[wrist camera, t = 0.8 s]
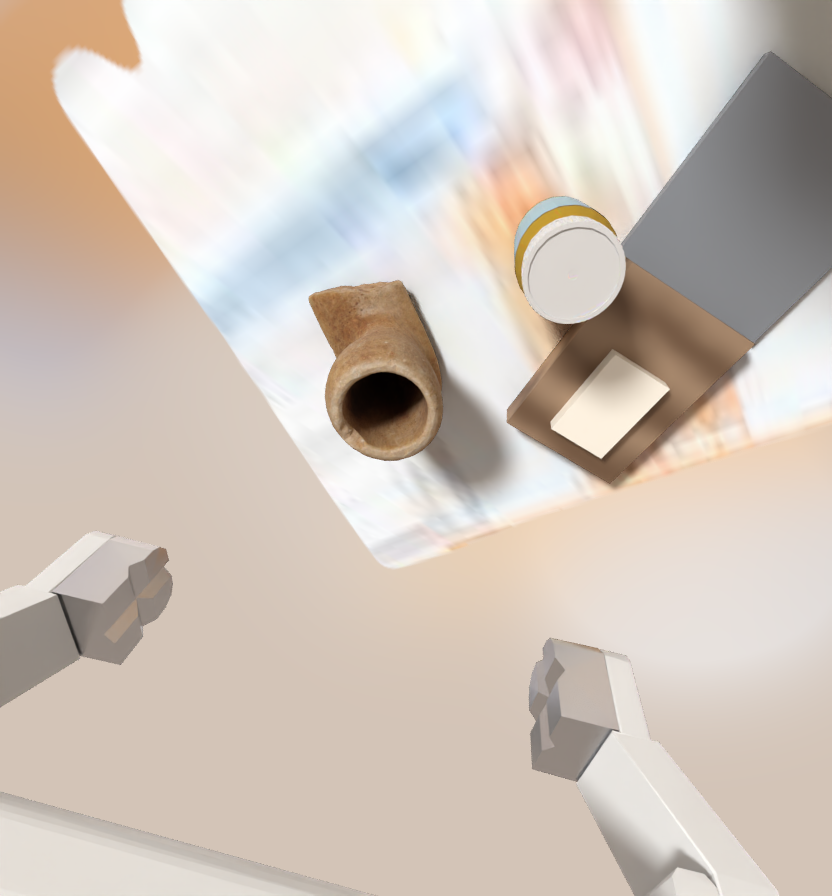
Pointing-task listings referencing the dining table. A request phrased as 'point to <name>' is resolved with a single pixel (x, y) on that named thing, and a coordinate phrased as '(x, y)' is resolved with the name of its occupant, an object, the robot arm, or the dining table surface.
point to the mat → (748, 204)
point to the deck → (643, 342)
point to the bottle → (568, 260)
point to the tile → (608, 404)
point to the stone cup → (379, 370)
